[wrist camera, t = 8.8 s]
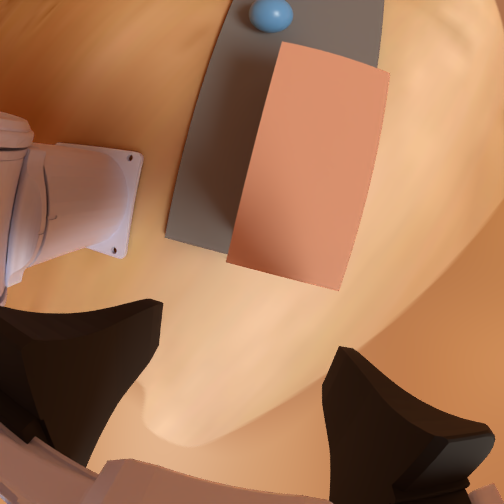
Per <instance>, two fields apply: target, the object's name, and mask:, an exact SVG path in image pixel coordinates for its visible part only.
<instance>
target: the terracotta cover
mask: <svg viewBox="0 0 504 504" xmlns="http://www.w3.org/2000/svg"><path fill="white" fill-rule="evenodd" d="M389 78H390V73H388V72H386V71H383V70H380V69H378V68H375V67H373V66H370V65H367V64H364V63H361V62H358V61H355V60H352V59H349V58H346V57H343V56H340V55H336V54H333V53H329V52H326V51H322V50H318V49H314V48H310V47H306V46H302V45H297V44H292V43H288V42H283V41H282V43H281V47H280V51H279V54H278V58H277V61H276V65H275V68H274V72H273V76H272V79H271V83H270V87H269V91H268V94H267V98H266V102H265V106H264V109H263V113H262V117H261V121H260V125H259V128H258V132H257V136H256V140H255V144H254V148H253V152H252V156H251V160H250V164H249V168H248V172H247V176H246V180H245V184H244V188H243V192H242V196H241V200H240V205H239V209H238V213H237V217H236V221H235V225H234V230H233V234H232V238H231V243H230V247H229V251H228V256H227V260H226V262H227V263H231V264H235V265H239V266H243V267H246V268H250V269H254V270H258V271H262V272H266V273H269V274H273V275H277V276H281V277H285V278H289V279H293V280H297V281H301V282H305V283H309V284H313V285H317V286H321V287H325V288H329V289H333V290H337V291H339V289H340V286H341V283H342V280H343V277H344V274H345V271H346V268H347V265H348V261H349V258H350V255H351V252H352V248H353V245H354V242H355V238H356V235H357V231H358V228H359V224H360V221H361V217H362V213H363V209H364V206H365V202H366V198H367V194H368V190H369V185H370V181H371V177H372V173H373V168H374V164H375V159H376V154H377V149H378V145H379V139H380V134H381V129H382V123H383V118H384V112H385V106H386V99H387V92H388V85H389Z"/></svg>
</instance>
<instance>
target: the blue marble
mask: <svg viewBox="0 0 504 504" xmlns="http://www.w3.org/2000/svg"><path fill="white" fill-rule="evenodd" d="M249 19H250V21H251V23H252V24H253V25H254V26H255V27H256V28H257V29H259V30H261V31H263V32H267V33H276V32H280V31H283V30H284V29H286V28H287V27H288V26H289V25H290V24H291V22H292V20H293V10H292V8H291V6H290V5H289V3H288V2H286V1H285V0H256V1H255V2H254V3H253V4H252V5H251V7H250V9H249Z"/></svg>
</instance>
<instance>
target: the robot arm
mask: <svg viewBox="0 0 504 504" xmlns="http://www.w3.org/2000/svg"><path fill="white" fill-rule="evenodd" d="M33 138H34V132H33V131H32V130H31V128H30V125H29V123H28V121H27V120H26V119H23V118H21V117H18V116H15V115H12V114H8V113H4V112H0V498H1V499H3V500H4V501H5V502H6V503H7V504H504V502H503V500H502V498H501V496H500V494H499V492H498V490H497V488H496V487H495V484H494V483H493V484H489V485H487V486H484V487H481V488H479V489H476V490H474V491H472V492H471V493H469V494H467V492H466V490H465V488H467V487H468V486H469V485H470V482H469V480H468V478H467V477H468V476H469V475H470V474H471V473H472V472H473V471H474V470H475V469H476V468H477V467H478V466H479V465H480V464H481V463H482V462H483V460H484V459H485V458H486V457H487V455H488V454H489V453H490V451H491V449H492V448H493V445H494V442H495V436H494V434H493V433H492V431H491V430H490V428H489V427H488V426H487V425H486V424H484V423H479V422H475V421H470V420H466V419H463V418H459V417H457V416H454V415H451V414H448V413H446V412H443V411H441V410H438V409H436V408H434V407H432V406H430V405H428V404H426V403H424V402H422V401H421V400H419V399H417V398H416V397H414V396H412V395H411V394H409V393H408V392H406V391H405V390H403V389H402V388H400V387H399V386H398V385H396V384H395V383H394V382H392V381H391V380H390V379H389V378H388V377H386V376H385V375H384V374H383V373H382V372H380V371H379V370H378V369H377V368H376V367H375V366H373V365H372V364H371V363H370V362H369V361H368V360H367V359H366V358H364V357H363V356H362V355H361V354H360V353H358V352H357V351H356V350H354V349H353V348H347V347H341V346H339V347H338V350H337V352H336V355H335V357H334V359H333V362H332V364H331V366H330V369H329V371H328V373H327V376H326V378H325V380H324V382H323V384H322V405H323V411H324V418H325V423H326V429H327V435H328V441H329V448H330V469H331V472H330V497H329V501H328V500H325V499H319V498H313V497H308V496H303V495H291V494H280V493H273V492H265V491H258V490H251V489H246V488H240V487H235V486H230V485H225V484H221V483H216V482H212V481H208V480H204V479H200V478H197V477H193V476H190V475H186V474H183V473H179V472H176V471H173V470H170V469H167V468H164V467H161V466H158V465H154V464H150V463H146V462H142V461H138V460H134V459H121V460H110V461H107V463H106V464H105V466H104V467H103V469H102V471H101V472H100V474H97V473H95V472H93V471H91V470H89V469H87V468H86V466H87V464H88V461H89V459H90V457H91V454H92V452H93V450H94V448H95V446H96V443H97V441H98V439H99V437H100V435H101V433H102V431H103V429H104V427H105V426H106V424H107V422H108V420H109V418H110V416H111V415H112V413H113V411H114V409H115V407H116V406H117V404H118V403H119V401H120V400H121V398H122V397H123V395H124V394H125V393H126V392H127V390H128V389H129V388H130V386H131V385H132V384H133V383H134V381H135V380H136V379H137V378H138V376H139V375H140V374H141V372H142V371H143V370H144V369H145V367H146V366H147V365H148V363H149V362H150V360H151V358H152V357H153V355H154V353H155V351H156V349H157V347H158V346H159V338H160V328H161V319H162V310H163V303H162V302H159V301H156V300H153V299H143V300H139V301H135V302H131V303H127V304H123V305H119V306H115V307H110V308H105V309H100V310H95V311H89V312H81V313H68V314H53V313H35V312H27V311H21V310H16V309H11V308H7V307H4V306H5V303H6V299H7V287H10V286H12V285H14V284H17V283H19V282H21V281H22V275H23V272H24V270H25V269H26V268H28V267H31V266H33V265H36V264H39V263H42V262H44V261H47V260H50V259H53V258H56V257H58V256H61V255H64V254H67V253H70V252H73V251H76V250H79V249H82V248H85V247H86V248H89V249H92V250H95V251H98V252H101V253H104V254H107V255H110V256H113V257H116V258H120V259H121V258H124V257H125V256H126V254H127V248H128V241H129V234H130V227H131V221H132V215H133V209H134V203H135V198H136V193H137V187H138V182H139V178H140V173H141V168H142V164H143V158H144V157H143V155H142V154H141V153H139V152H134V151H127V150H120V149H113V148H105V147H97V146H88V145H79V144H69V143H56V144H55V145H50V144H43V143H34V142H32V141H33ZM131 155H132V156H133V159H132V160H131V161H130V160H129V157H130V156H131ZM114 247H115V248H116V250H117V252H115V251H114Z"/></svg>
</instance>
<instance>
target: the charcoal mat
mask: <svg viewBox="0 0 504 504" xmlns="http://www.w3.org/2000/svg"><path fill="white" fill-rule="evenodd" d="M255 1H256V0H233V2H232V4H231V7H230V9H229V11H228V14H227V16H226V19H225V21H224V24H223V27H222V29H221V32H220V35H219V37H218V40H217V43H216V45H215V48H214V51H213V54H212V57H211V60H210V63H209V66H208V68H207V71H206V75H205V78H204V81H203V84H202V87H201V90H200V93H199V97H198V100H197V103H196V107H195V110H194V114H193V117H192V121H191V124H190V128H189V132H188V135H187V139H186V143H185V147H184V151H183V155H182V159H181V163H180V167H179V171H178V176H177V180H176V185H175V189H174V194H173V198H172V203H171V208H170V213H169V218H168V223H167V229H166V234H165V238H168V239H172V240H176V241H179V242H183V243H187V244H191V245H194V246H198V247H202V248H205V249H209V250H213V251H217V252H220V253H224V254H228V251H229V247H230V243H231V238H232V234H233V230H234V225H235V221H236V217H237V213H238V209H239V205H240V200H241V196H242V192H243V188H244V184H245V180H246V176H247V172H248V168H249V164H250V160H251V156H252V152H253V148H254V144H255V140H256V136H257V132H258V128H259V125H260V121H261V117H262V113H263V109H264V106H265V102H266V98H267V94H268V91H269V87H270V83H271V79H272V76H273V72H274V68H275V65H276V61H277V58H278V54H279V51H280V47H281V43H282V41H283V42H288V43H292V44H297V45H302V46H306V47H310V48H314V49H318V50H322V51H326V52H329V53H333V54H336V55H340V56H343V57H346V58H349V59H352V60H355V61H358V62H361V63H364V64H367V65H370V66H373V67H375V68H377V65H378V58H379V50H380V42H381V33H382V23H383V11H384V0H285V1H286V2H288V3H289V5H290V6H291V8H292V10H293V20H292V22H291V24H290V25H289V26H288V27H287V28H286V29H284V30H283V31H280V32H276V33H267V32H263V31H261V30H259V29H257V28H256V27H255V26H254V25H253V24H252V23H251V21H250V19H249V9H250V7H251V5H252V4H253V3H254V2H255Z"/></svg>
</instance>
